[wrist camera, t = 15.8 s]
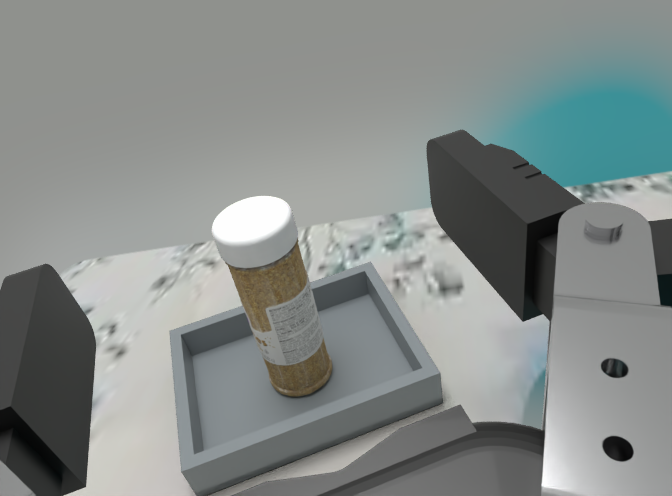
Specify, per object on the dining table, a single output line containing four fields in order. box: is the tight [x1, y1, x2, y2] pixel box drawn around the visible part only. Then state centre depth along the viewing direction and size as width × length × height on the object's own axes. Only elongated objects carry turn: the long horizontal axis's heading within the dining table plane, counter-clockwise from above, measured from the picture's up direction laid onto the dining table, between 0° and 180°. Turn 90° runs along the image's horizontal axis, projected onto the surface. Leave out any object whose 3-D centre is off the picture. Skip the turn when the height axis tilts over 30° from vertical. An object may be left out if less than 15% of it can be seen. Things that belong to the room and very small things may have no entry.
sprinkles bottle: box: [212, 196, 332, 397], centre depth 33 cm, size 5×5×13 cm
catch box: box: [169, 262, 443, 496], centre depth 37 cm, size 16×12×3 cm
